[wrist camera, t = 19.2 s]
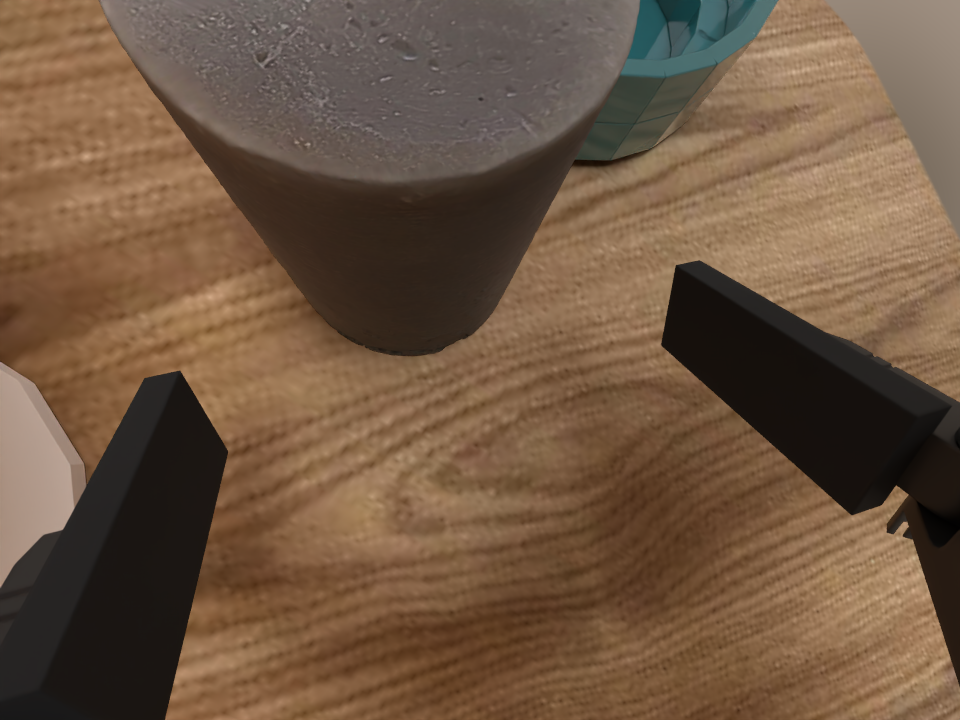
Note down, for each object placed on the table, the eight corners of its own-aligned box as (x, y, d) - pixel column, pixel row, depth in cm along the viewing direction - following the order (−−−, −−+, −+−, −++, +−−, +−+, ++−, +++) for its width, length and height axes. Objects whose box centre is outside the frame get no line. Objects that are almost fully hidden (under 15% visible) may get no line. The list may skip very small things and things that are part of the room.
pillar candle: (440, 396, 20) (496, 275, 6) (252, 281, 20) (-187, -152, 6) (544, 230, 22) (779, -168, 8) (376, 124, 22) (295, -486, 8)
